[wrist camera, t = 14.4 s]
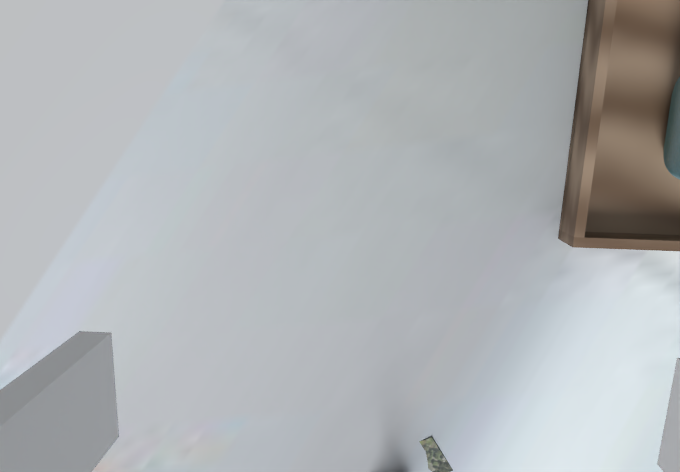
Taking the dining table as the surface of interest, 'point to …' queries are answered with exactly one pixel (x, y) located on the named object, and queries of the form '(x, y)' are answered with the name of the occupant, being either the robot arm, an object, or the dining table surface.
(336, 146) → the dining table surface
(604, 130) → the box
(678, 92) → the flower pot
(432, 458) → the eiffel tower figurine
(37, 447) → the robot arm
